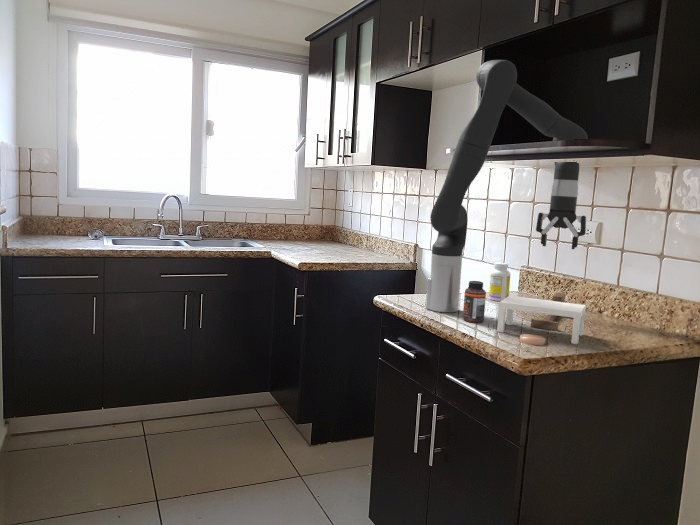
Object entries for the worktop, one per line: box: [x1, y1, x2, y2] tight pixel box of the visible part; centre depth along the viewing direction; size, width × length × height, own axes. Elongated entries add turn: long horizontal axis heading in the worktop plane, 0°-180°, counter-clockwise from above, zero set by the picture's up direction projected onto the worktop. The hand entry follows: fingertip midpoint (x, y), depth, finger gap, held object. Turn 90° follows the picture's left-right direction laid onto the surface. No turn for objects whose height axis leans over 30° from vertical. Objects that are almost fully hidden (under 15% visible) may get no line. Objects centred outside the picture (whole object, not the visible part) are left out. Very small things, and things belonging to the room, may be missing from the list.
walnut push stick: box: [530, 292, 566, 332], centre depth 167 cm, size 7×29×6 cm, turn 152°
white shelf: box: [496, 295, 586, 345], centre depth 149 cm, size 20×12×8 cm, turn 62°
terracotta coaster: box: [519, 333, 546, 346], centre depth 140 cm, size 6×6×2 cm
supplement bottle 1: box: [462, 280, 487, 324], centre depth 160 cm, size 6×6×11 cm
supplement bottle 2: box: [488, 262, 511, 302], centre depth 196 cm, size 7×7×13 cm
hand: (558, 247), depth 174 cm, fingers open, 8 cm apart
